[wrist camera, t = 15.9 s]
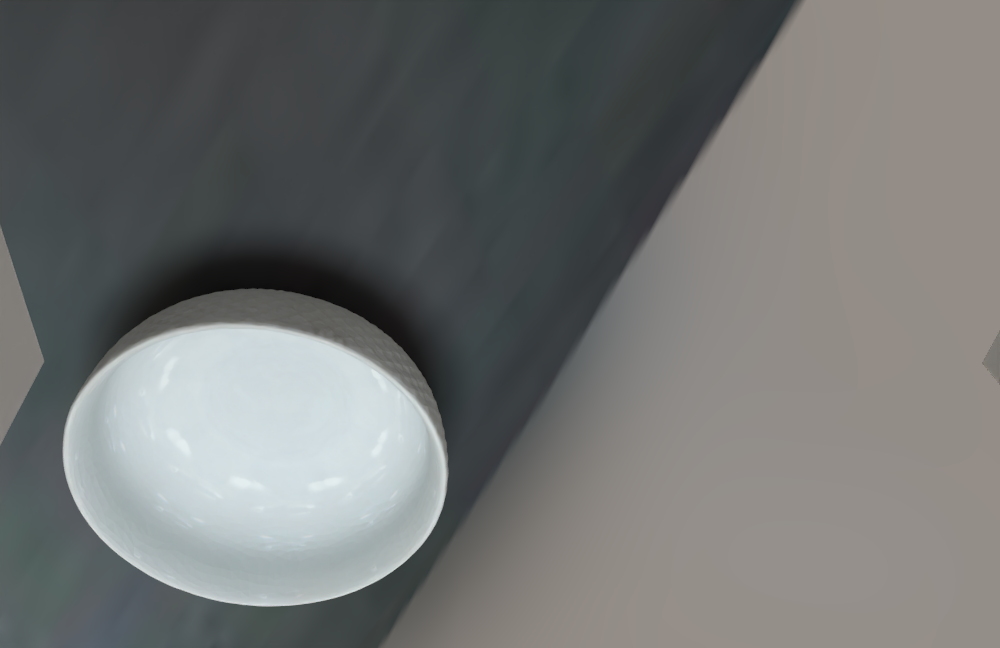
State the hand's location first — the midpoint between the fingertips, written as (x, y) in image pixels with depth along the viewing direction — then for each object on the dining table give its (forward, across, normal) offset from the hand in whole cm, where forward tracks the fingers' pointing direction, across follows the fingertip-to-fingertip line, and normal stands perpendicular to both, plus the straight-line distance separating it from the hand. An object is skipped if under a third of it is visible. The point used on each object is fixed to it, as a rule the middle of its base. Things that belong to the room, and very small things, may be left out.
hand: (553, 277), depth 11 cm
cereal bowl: (+25, -8, -24) cm, 36 cm away
